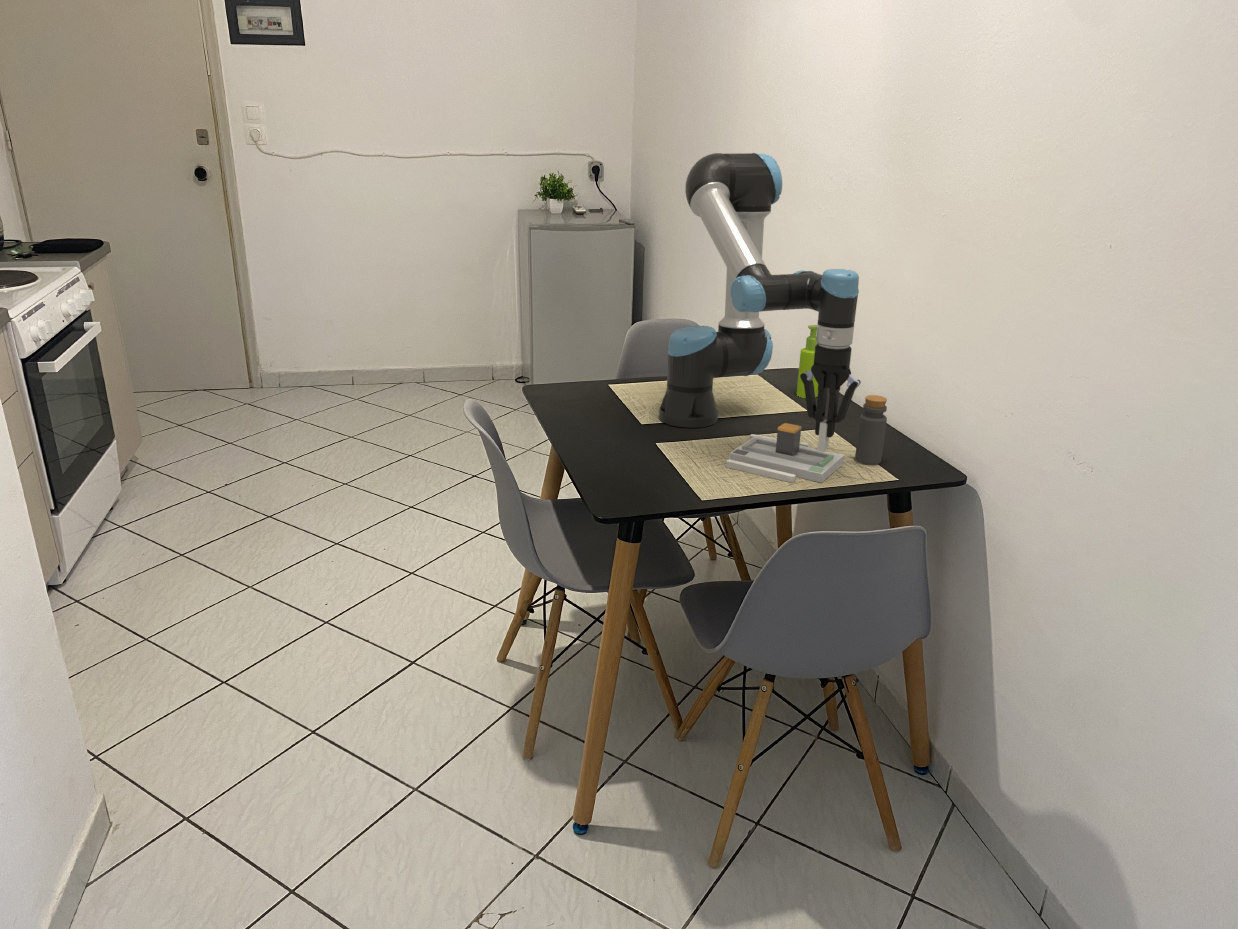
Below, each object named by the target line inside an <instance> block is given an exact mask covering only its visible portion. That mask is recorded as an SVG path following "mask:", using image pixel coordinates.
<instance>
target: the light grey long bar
mask: <svg viewBox="0 0 1238 929" xmlns="http://www.w3.org/2000/svg"><path fill="white" fill-rule="evenodd" d="M725 468H729V469H732V470H733V469H734V470H737V471H742V472H746V473H750V474H753V475H757V476H761V477H767V478H769V479H774V480H780V481H783V482H788V483H791V484H793V483H795V482H796V479H797V477H796V475H794V474H790V473H786V472H781V471H777V470H773V469H768V468H764V467H760V466H756V465H751V464H747V463H743V462H739V461H734V460H730V459H729V458H728V459H727V460H726V461H725Z"/></svg>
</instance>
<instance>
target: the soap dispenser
mask: <svg viewBox="0 0 1238 929" xmlns="http://www.w3.org/2000/svg"><path fill="white" fill-rule="evenodd" d="M807 327H808V329H809V330H810V332H809V336H807V337H806V340H805V347H804V348H803V347H802V348H801V349H800V354H799V366H798V375H797V385H796V386H797V387H796V394H797V395H796V396H797V397H798V396H799V397H798V398H800V397H801V398H802V399H805V398H806V396H805V389H804V384H803V382H802V380H801V378H800V375H801V374H802V373H804V372H806V371H810V370H811V367H812V366H813V364H814V355H815V346H816V345H817V344H818V343H817V342H816V335H817V324H812V325H809V324H808V326H807ZM812 380H813V384H814V391H815V399H816V397H817V398H818V383H817V381H816V379H815V377H814V376H813V379H812ZM801 398H800V399H801Z"/></svg>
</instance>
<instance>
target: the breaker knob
mask: <svg viewBox="0 0 1238 929" xmlns="http://www.w3.org/2000/svg"><path fill="white" fill-rule="evenodd" d="M776 433H777V434H776V438H777V442H776V453H781V454H785V455H790V456H793V455H795V454H796V453H797V452H799V446H800V442H801V436H802V435H801V434H802V425H798V424H794V423H793V424H792V423H787V422H783V423H782V424H781V425H779V426H778V427H777V432H776Z"/></svg>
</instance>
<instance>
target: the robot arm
mask: <svg viewBox="0 0 1238 929" xmlns="http://www.w3.org/2000/svg"><path fill="white" fill-rule="evenodd" d="M684 191H685V198H686V201H687V203H688V206H689V209H691V212H692V213H693V214H694V216H697V217H700V220H701V221H702V223H703V225H704V227H705V229H706V231H707V232H708V235H709V237H710V238H711V240H712V242H713V244H714V246H715V248H716V249H717V251H718V253H719V256H720V257H721V259H722V261H723V263H724V265H725V266H726V278H725V279H726V281H725V298H724V300H725V303H724V304H725V305H724V306H725V307H724V316H723V318H722V319H720V321H718V325H717V326H718V328H717V330H716V329H715V328H714V327H712V326H709V325H699V326H698V325H691V326H686V327H685V326H684V327H681V328H679V329H676V330H674V331H673V332H672V333H671V334H670V336H669V342H668V347H667V375H666V376H667V377H666V378H667V379H666V382H667V383H666V390H665V393H664V396H663V398H662V401H661V403H660V407H659V408H658V409H659V410H658V412H659V413H658V418H659V420H660V421H661V422H662V423H664V424H666V425H669V426H673V427H678V428H688V429H692V428H693V429H695V428H696V429H697V428H705V427H709V426H712V425H714V424H716V423H717V422H718V418H719V416H718V415H719V412H718V411H719V410H718V408H717V404H716V400H715V397H714V391H713V390H714V389H713V388H714V385H713V384H714V379H719V378H727V377H728V378H729V377H741V376H743V377H747V376H748V377H749V376H751V375H758V374H761V373H762V372H764V371H765V369H766V368H767V367H768V366H769V363H770V362H771V359H772V356H773V348H774V346H773V345H774V344H773V340H772V335H771V333H770V331H768V330H767V329H765V322H763V321H762V319H761V318H760V312H771V311H772V312H774V311H789V310H804V309H805V310H806V309H808V310H812V311H815V312H818V316H817V324H816V325H817V333H816V342H817V343H818V344H817V345H816V346H815V355H814V364H813V366H812V367H811V370H810V371H806V372H804V373H802V374H801V375H800V378H801V380H802V382H803V384H804V389H805V396H806V399H805V402H806V409H807V416H808V417H809V418H812V419H814V421H815V427H814V428H815V430H814V433H815V435H816V436H818V439H817V448H816V449H817V451H820V452H825V451H827V450H828V449H829V443H830V439H831V438H832V437H833V436H834V435H835V428H836V427H835V426H836V424H837V423H838V424H839V423H841V422H842V421H843V420H845V419H846V415H847V413H848V410H849V408H850V404H851V402H852V399H853V396H854V394H855V392H856V390H857V389H858V387H859V386H860V385H861V383H862V382H861V380H860V379H856V378H855V377H854V376H853V375H852V371H851V368H850V365H851V358H852V357H851V356H852V347H851V345H852V344H853V340H854V330H855V329H854V328H855V321H856V315H857V314H856V313H857V304H858V296H859V293H860V291H859V290H860V289H859V284H860V283H859V281H860V276H859V274H858V273H857V272H856V271H855V270H852V269H845V268H829V269H826V270H824V271H823V272H822V274H820V273H817V272H815V271H812V270H801V269H800V270H797V271H795V272H793V273H788V274H772V273H771V272H770V270H769V269H768V267H767V265H766V264H765V261H764V260H763V245H764V226H765V219H766V218H767V217H768V216H769V215H770V214H772V213H771V212H772V205H774V204H775V203H777V202H778V201H779V199H780V198H781V197H780V196H781V195H782V191H783V175H782V170H781V169H780V166H779V164H778V162H777V160H776V159H775V158H774V157H773V156H771V155H769V154H766V153H765V154H764V153H758V152H757V153H756V152H751V153H750V152H749V153H748V152H747V153H745V152H744V153H741V152H740V153H722V152H721V153H720V152H714V153H711V154H707V155H704V156H703V157H701V158H700V159H698V160H697V161H696V162H695V163H694V165H693V166H692V167H691V169H690V171H689V173H688V175H687V177H686V180H685V190H684ZM813 376H814V377H815V379H816V381H817V383H818V397H817V399H816V398H815V391H814V384H813V380H812V379H813ZM846 381H847V382H846ZM845 383H846V387H847V388H846V390H845V393H844V395H843V398H842V400H841V402H840V405H839V397H840V391H841V387H842V386H843V385H844V384H845ZM828 392H829V397H828ZM816 400H817V401H816ZM827 400H828V401H827ZM827 402H828V409H827ZM838 405H839V409H838ZM826 410H827V415H826ZM825 418H827V419H825Z"/></svg>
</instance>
